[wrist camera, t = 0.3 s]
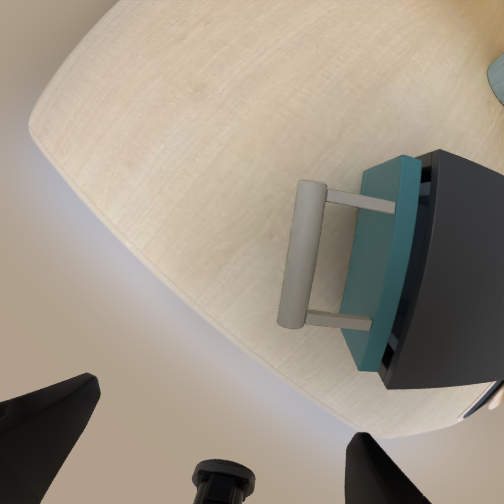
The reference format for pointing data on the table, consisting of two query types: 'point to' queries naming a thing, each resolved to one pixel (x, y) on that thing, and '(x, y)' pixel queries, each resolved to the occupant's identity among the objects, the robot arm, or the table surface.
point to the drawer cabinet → (454, 283)
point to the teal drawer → (362, 257)
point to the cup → (497, 77)
